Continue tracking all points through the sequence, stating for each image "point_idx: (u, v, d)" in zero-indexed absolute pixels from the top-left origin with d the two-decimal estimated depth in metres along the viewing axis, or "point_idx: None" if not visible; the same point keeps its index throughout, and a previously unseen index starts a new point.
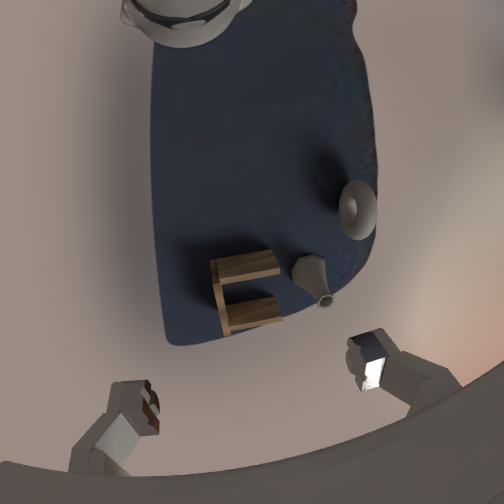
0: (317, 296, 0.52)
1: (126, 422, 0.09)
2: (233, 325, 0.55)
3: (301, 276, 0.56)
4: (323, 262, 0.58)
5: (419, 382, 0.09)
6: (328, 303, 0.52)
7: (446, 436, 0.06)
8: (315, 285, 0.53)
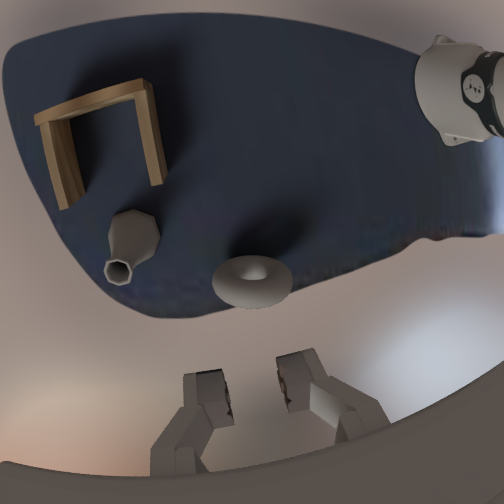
0: (121, 255, 0.30)
1: (205, 414, 0.09)
2: (50, 129, 0.25)
3: (132, 225, 0.34)
4: (151, 255, 0.38)
5: (344, 411, 0.09)
6: (111, 276, 0.30)
7: (446, 436, 0.06)
8: (132, 248, 0.32)
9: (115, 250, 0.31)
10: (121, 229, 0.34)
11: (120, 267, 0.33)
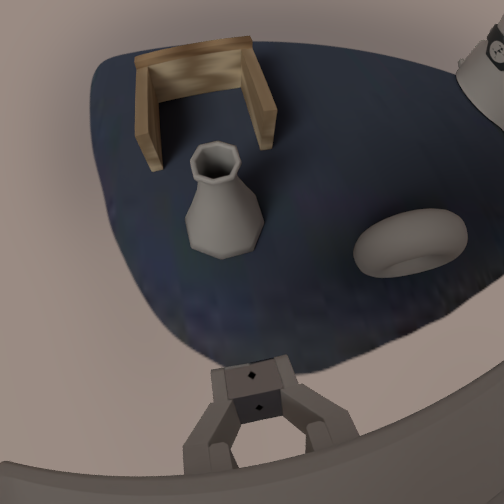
0: (221, 156, 0.20)
1: (234, 410, 0.09)
2: (147, 71, 0.26)
3: None
4: (251, 241, 0.26)
5: (314, 420, 0.08)
6: None
7: (446, 436, 0.06)
8: None
9: (208, 167, 0.21)
10: None
11: None
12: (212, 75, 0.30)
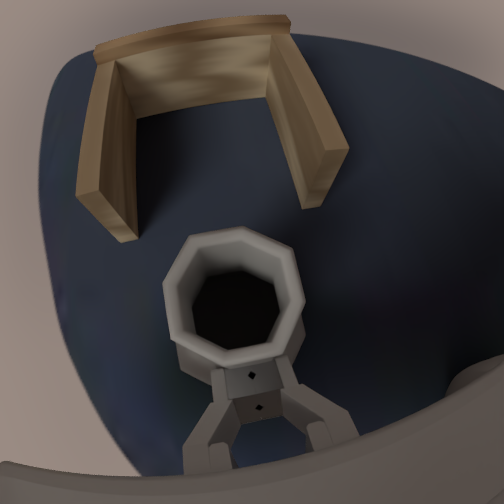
0: None
1: (234, 410, 0.09)
2: (113, 68, 0.15)
3: None
4: None
5: (314, 421, 0.08)
6: None
7: (446, 436, 0.06)
8: (271, 282, 0.10)
9: (214, 269, 0.09)
10: None
11: None
12: (221, 76, 0.19)
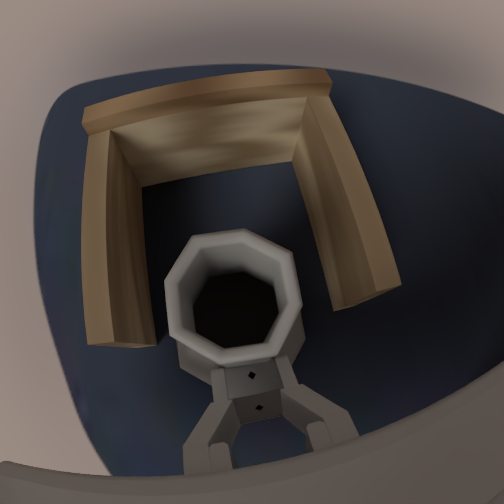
0: None
1: (234, 410, 0.09)
2: (109, 144, 0.13)
3: None
4: None
5: (314, 421, 0.08)
6: None
7: (446, 436, 0.06)
8: (272, 285, 0.10)
9: (216, 269, 0.10)
10: None
11: None
12: (243, 143, 0.17)
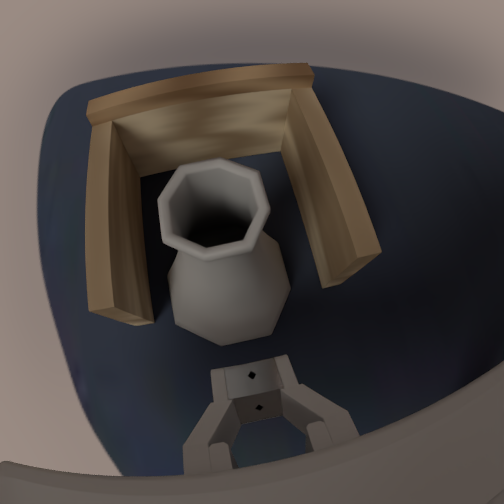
0: (226, 189, 0.10)
1: (234, 410, 0.09)
2: (111, 133, 0.14)
3: (239, 225, 0.16)
4: (270, 323, 0.16)
5: (314, 421, 0.08)
6: None
7: (446, 436, 0.06)
8: (250, 219, 0.12)
9: (201, 207, 0.11)
10: (212, 223, 0.15)
11: None
12: (234, 133, 0.18)
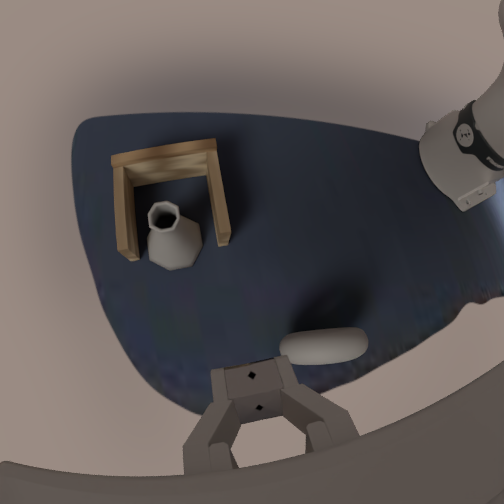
0: (169, 209, 0.29)
1: (234, 410, 0.09)
2: (123, 173, 0.32)
3: None
4: (191, 260, 0.36)
5: (314, 420, 0.08)
6: None
7: (446, 436, 0.06)
8: None
9: (161, 213, 0.31)
10: (167, 215, 0.34)
11: None
12: (180, 169, 0.37)
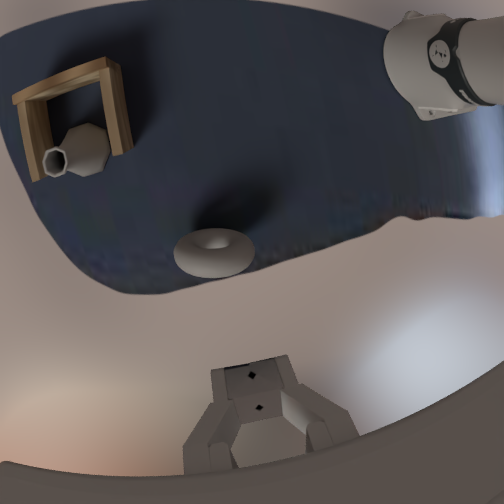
0: (61, 148, 0.26)
1: (234, 409, 0.09)
2: (26, 107, 0.24)
3: (82, 133, 0.30)
4: (99, 168, 0.34)
5: (314, 420, 0.08)
6: (50, 170, 0.26)
7: (446, 436, 0.06)
8: (75, 147, 0.28)
9: (59, 147, 0.27)
10: (71, 135, 0.29)
11: (63, 168, 0.28)
12: (82, 82, 0.28)
